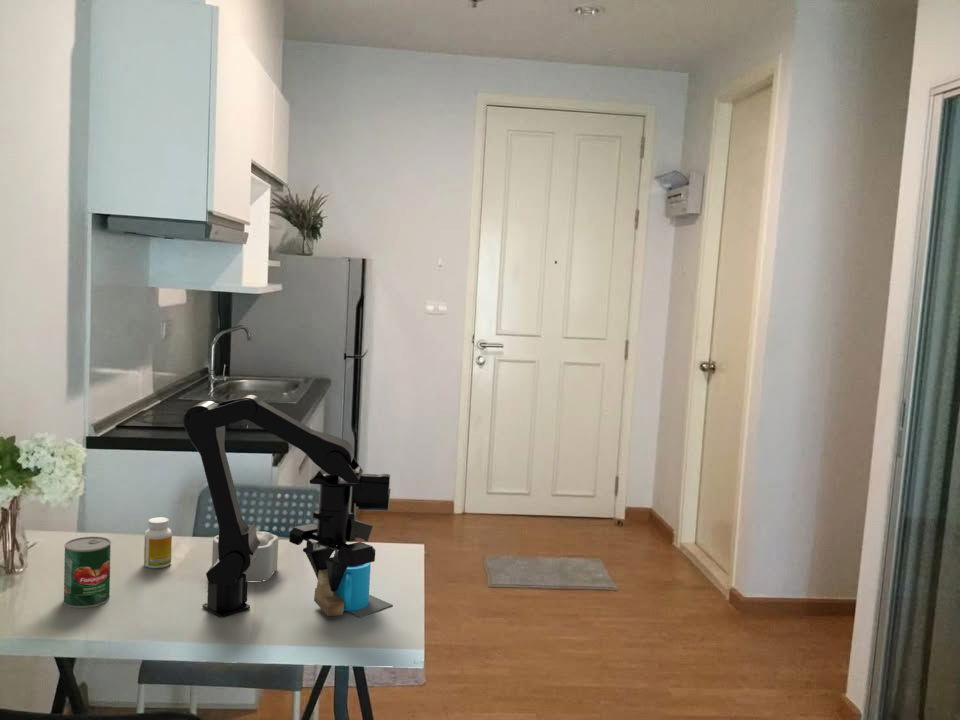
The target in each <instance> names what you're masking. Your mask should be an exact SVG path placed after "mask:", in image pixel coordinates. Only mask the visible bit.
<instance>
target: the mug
mask: <svg viewBox="0 0 960 720" xmlns="http://www.w3.org/2000/svg"><path fill="white" fill-rule="evenodd" d="M371 564H372V562H370V563H366V564H362V565H358V566H354V567H351V566H348V567H347V569H346V571H345V573H344V575H343V578H342V580H341V582H340V585H339V587H338V589H337V591H334V592H336V593H337V594H338V596H339V597H340V598H341V599H342V600H343V601H344V610H343V612H347V611H352V610H359V609H362V608H364V607H366V606H367V605H368V603H369V595H370V586H371V585H370V582H371Z"/></svg>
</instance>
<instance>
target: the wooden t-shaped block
mask: <svg viewBox="0 0 960 720" xmlns="http://www.w3.org/2000/svg"><path fill="white" fill-rule="evenodd" d="M316 583H317V585H316V587H315V588H314V589H315V590H314V596H313V602H314V603H315V604H317V606H318V607H319V608H320V610H322V612H323V613H324V614H325V615H326V616H327V617H331V616H332V617H334V616H343V615H344V611H343V610H344V601H343V600H342V599H341V598H340V597H339V596H338V594H337V593H336V592H332V591H331V588H330V583H329V577H328V571H327V569H325V570H319V573H318V579H317V582H316Z"/></svg>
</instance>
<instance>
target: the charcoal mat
mask: <svg viewBox="0 0 960 720" xmlns="http://www.w3.org/2000/svg"><path fill="white" fill-rule="evenodd" d="M390 607H393V604H392V603H390V602H387V601H385V600H382V599H380V598H378V597H376V596H374V595H371V594H369V603H368V605H367V606H366V607H364V608H362V609H359V610H352V611H346V612H347V613H349V614H351V615H354V616H355V617H357V618H362V617H365V616H368V615H371V614H374V613H376V612H379V611H382V610H385V609H387V608H390Z"/></svg>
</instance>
